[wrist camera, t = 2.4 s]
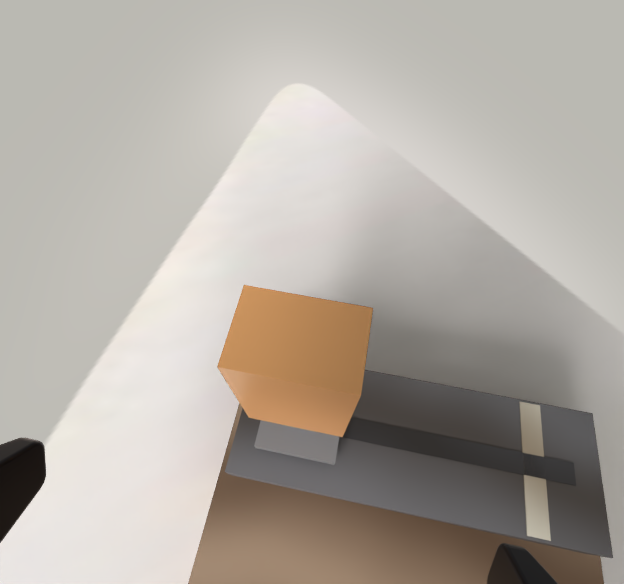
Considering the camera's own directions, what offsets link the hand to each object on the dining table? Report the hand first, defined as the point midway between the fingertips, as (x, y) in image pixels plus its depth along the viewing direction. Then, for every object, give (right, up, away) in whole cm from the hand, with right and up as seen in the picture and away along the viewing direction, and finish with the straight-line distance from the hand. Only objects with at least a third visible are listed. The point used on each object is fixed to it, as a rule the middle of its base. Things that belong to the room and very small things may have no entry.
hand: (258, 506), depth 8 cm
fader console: (+4, -6, +9) cm, 12 cm away
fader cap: (+1, -1, +8) cm, 8 cm away
